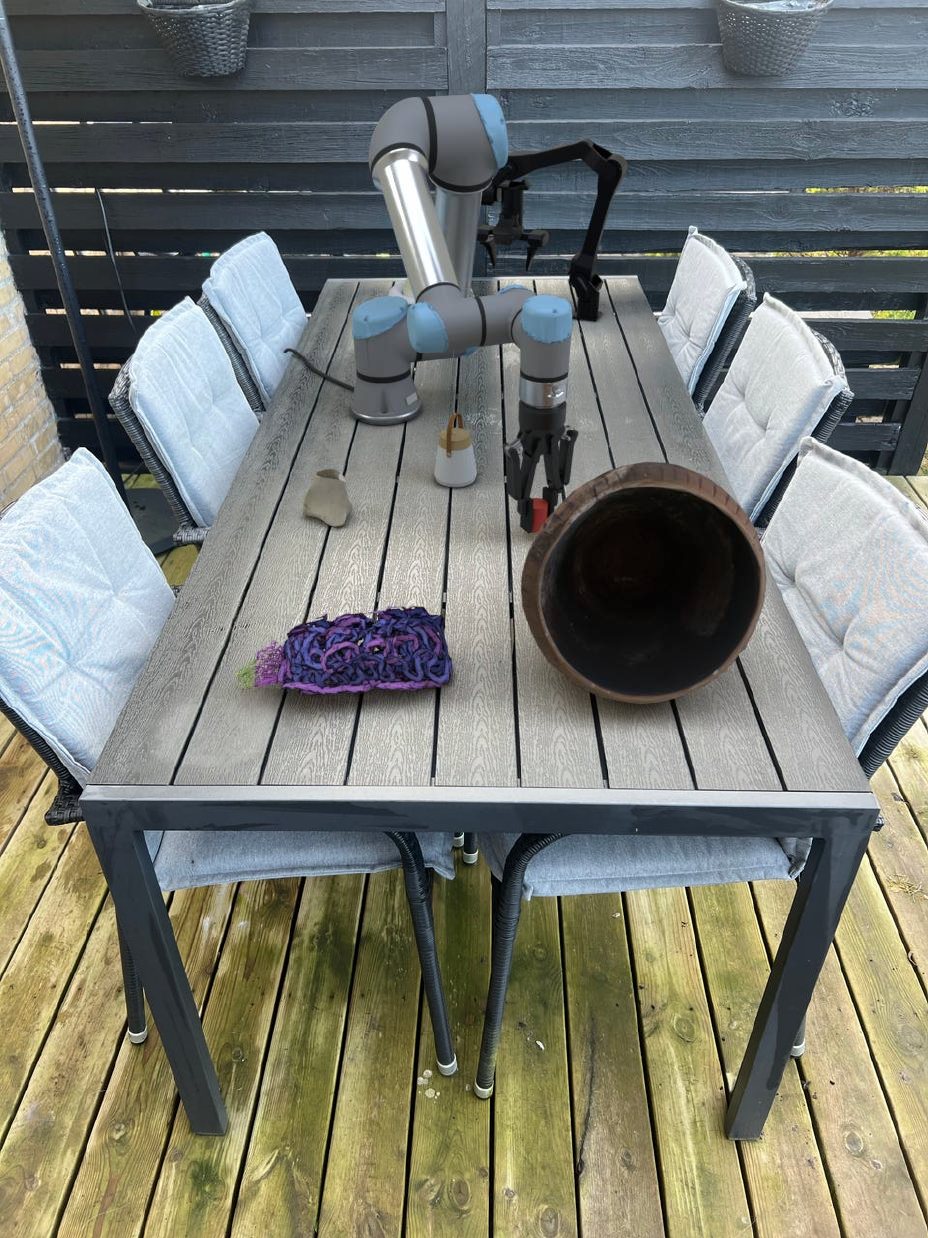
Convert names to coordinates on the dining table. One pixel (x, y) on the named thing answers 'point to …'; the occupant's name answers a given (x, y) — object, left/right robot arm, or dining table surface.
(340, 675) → the decorative ornament
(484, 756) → the dining table surface
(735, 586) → the pot
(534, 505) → the can
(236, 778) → the dining table surface
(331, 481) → the bone
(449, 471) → the pendant light
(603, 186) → the right robot arm
